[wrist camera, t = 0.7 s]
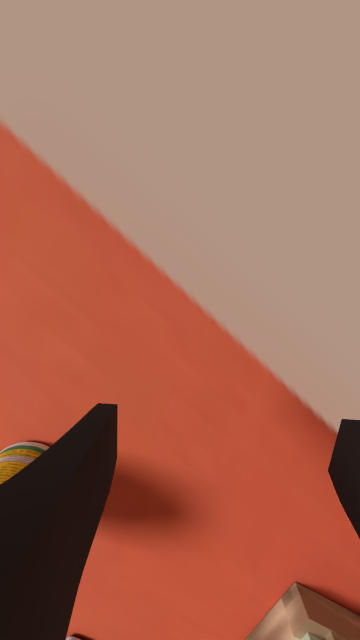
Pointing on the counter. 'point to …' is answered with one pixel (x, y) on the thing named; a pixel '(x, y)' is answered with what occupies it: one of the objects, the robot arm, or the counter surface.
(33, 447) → the supplement bottle
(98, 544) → the counter surface
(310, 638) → the lid
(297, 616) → the box
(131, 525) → the counter surface
